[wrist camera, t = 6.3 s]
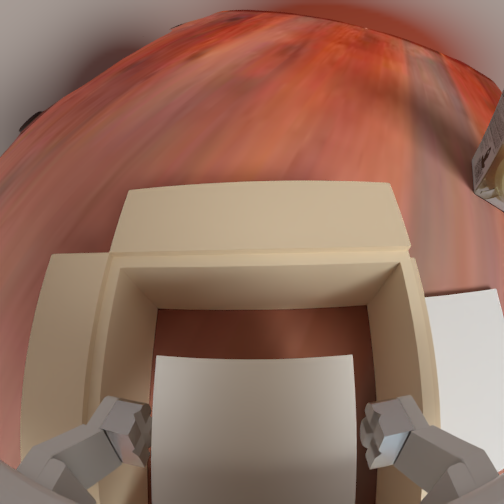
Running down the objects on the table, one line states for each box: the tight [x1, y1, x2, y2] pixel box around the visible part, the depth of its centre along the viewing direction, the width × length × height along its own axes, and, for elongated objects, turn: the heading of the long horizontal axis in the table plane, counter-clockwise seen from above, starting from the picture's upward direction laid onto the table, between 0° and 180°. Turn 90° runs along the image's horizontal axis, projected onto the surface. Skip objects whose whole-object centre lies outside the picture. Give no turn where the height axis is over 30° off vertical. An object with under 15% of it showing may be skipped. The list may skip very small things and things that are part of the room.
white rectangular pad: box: [425, 289, 504, 472], centre depth 13 cm, size 10×14×1 cm
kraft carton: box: [20, 181, 441, 504], centre depth 11 cm, size 19×23×6 cm
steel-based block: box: [151, 355, 357, 504], centre depth 9 cm, size 4×4×10 cm
